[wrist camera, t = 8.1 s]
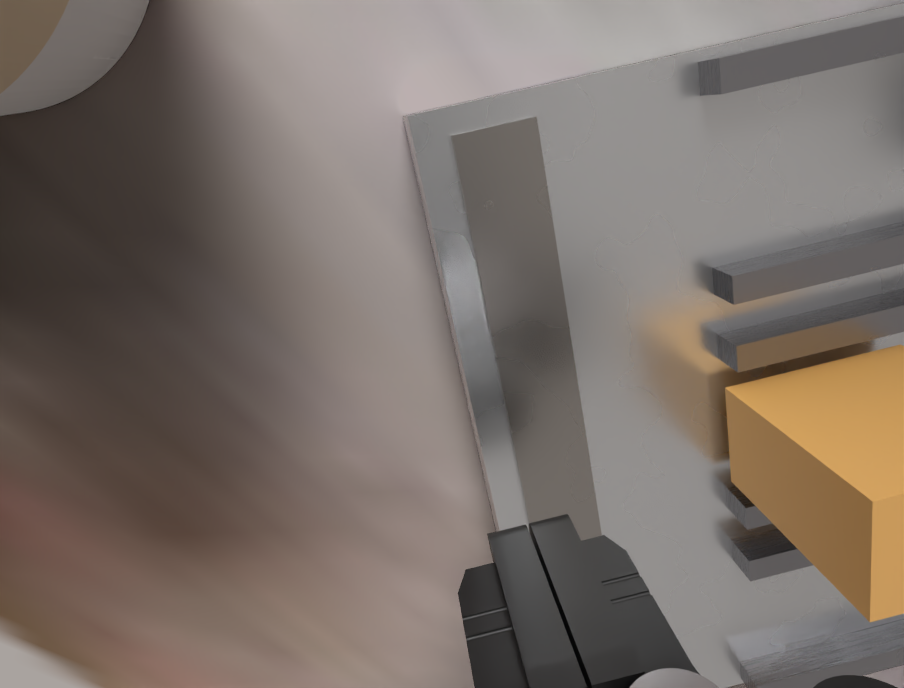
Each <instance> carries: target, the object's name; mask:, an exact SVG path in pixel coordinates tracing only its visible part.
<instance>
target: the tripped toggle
mask: <svg viewBox="0 0 904 688" xmlns="http://www.w3.org/2000/svg"><path fill="white" fill-rule="evenodd" d="M725 397H726V411H727V426H728V441H729V456H730V470H731V482H732V483H733V484H734V485H735V486H736V487H737V488H738V489H739V490H740V491H741V492H742V493H743V494H744V495H745V496H746V497H747V498H748V499H749V500H750V501H751V502H752V503H753V504H754V505H755V506H756V507H757V508H758V509H759V510H760V511H761V512H762V513H763V514H764V515H765V516H766V517H767V518H768V519H769V520H770V521H771V522H772V523H773V524H774V525H775V526H776V527H777V528H778V529H779V530H780V531H781V532H782V534H783V535H784V536H785V537H786V538H787V539H788V540H789V541H790V542H791V543H792V544H793V545H794V546H795V547H796V548H797V549H798V550H799V551H800V552H801V553H802V554H803V555H804V556H805V557H806V558H807V559H808V560H809V561H810V562H811V563H812V564H813V565H814V566H815V567H816V568H817V569H818V570H819V571H820V572H821V573H822V574H823V575H824V576H825V577H826V578H827V579H828V580H829V581H830V582H831V583H832V584H833V585H834V586H835V587H836V588H837V589H838V591H839V592H840V593H841V594H842V595H843V596H844V597H845V598H846V599H847V600H848V601H849V602H850V603H851V604H852V605H853V606H854V607H855V608H856V609H857V610H858V611H859V612H860V613H861V614H862V615H863V616H864V617H865V618H866V619H867V620H868V621H869V622H874V621H878V620H881V619H885V618H889V617H893V616H897V615H900V614H904V346H903V345H901V344H900V345H896V346H892V347H888V348H884V349H880V350H876V351H872V352H868V353H864V354H860V355H855V356H851V357H847V358H843V359H839V360H835V361H831V362H827V363H823V364H819V365H815V366H811V367H807V368H803V369H799V370H795V371H791V372H787V373H783V374H778V375H774V376H770V377H766V378H762V379H758V380H754V381H750V382H746V383H742V384H738V385H734V386H730V387H726V388H725Z"/></svg>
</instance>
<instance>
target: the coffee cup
mask: <svg viewBox="0 0 904 688" xmlns="http://www.w3.org/2000/svg"><path fill="white" fill-rule="evenodd" d="M148 3H149V0H0V116H3V115H10V114H16V113H23V112H29V111H34V110H39V109H43V108H46V107H50V106H53V105H55V104H58V103H61V102H63V101H65V100H67V99H70V98H72V97H74V96H76V95H77V94H79V93H81V92H82V91H84V90H86V89H87V88H89V87H90V86H91V85H93V84H94V83H95V82H97V81H98V80H99V79H100V78H101V77H103V76H104V75H105V74H106V73H107V72H108V71H109V70H110V69H111V68H112V67H113V66H114V65H115V63H116V62H117V61H118V60H119V59H120V58H121V56H122V55H123V54H124V52H125V51H126V50H127V48H128V46H129V45H130V43H131V42H132V40H133V38H134V37H135V35H136V33H137V31H138V29H139V27H140V25H141V22H142V20H143V17H144V15H145V12H146V10H147V6H148Z"/></svg>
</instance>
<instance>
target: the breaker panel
mask: <svg viewBox="0 0 904 688" xmlns="http://www.w3.org/2000/svg"><path fill="white" fill-rule="evenodd" d="M403 120H404V124H405V128H406V133H407V137H408V142H409V146H410V151H411V155H412V160H413V164H414V168H415V173H416V177H417V182H418V186H419V191H420V195H421V200H422V204H423V208H424V213H425V217H426V222H427V226H428V231H429V235H430V240H431V244H432V248H433V253H434V257H435V262H436V266H437V271H438V275H439V280H440V284H441V288H442V293H443V297H444V302H445V306H446V311H447V315H448V320H449V324H450V328H451V333H452V337H453V342H454V346H455V351H456V355H457V360H458V364H459V368H460V373H461V377H462V382H463V386H464V391H465V395H466V400H467V404H468V408H469V413H470V417H471V422H472V426H473V431H474V435H475V440H476V444H477V448H478V453H479V457H480V462H481V466H482V471H483V475H484V480H485V484H486V488H487V493H488V497H489V502H490V506H491V511H492V515H493V520H494V524H495V528H496V532H497V531H501V530H505V529H509V528H513V527H517V526H521V525H525V524H526V526H527V528H528V530H529V523H532V522H536V521H540V520H544V519H549V518H553V517H557V516H561V515H565V514H568V515H569V517H570V519H571V521H572V523H573V525H574V527H575V529H576V531H577V533H578V535H579V537H580V539H581V541H582V540H586V539H590V538H594V537H598V536H602V535H605V536H606V537H608V538H609V539H610V540H612V541H613V542H615V543H616V544H618V545H619V546H620V547H622V548H623V549H625V550H626V551H627V553H628V555H629V556H630V558H631V560H632V562H633V563H634V565H635V567H636V568H637V570H638V572H639V575H640V577H642V579H643V580H644V582H645V584H646V586H647V587H648V589H649V592H650V594H651V595H652V596H653V598H654V599H655V601H656V603H657V605H658V606H659V608H660V610H661V611H662V613H663V615H664V617H665V618H666V620H667V622H668V623H669V625H670V627H671V629H672V630H673V632H674V634H675V635H676V637H677V639H678V641H679V642H680V644H681V646H682V647H683V649H684V651H685V653H686V654H687V656H688V658H689V660H690V661H691V663H692V664H693V666H694V667H695V669H696V670H697V671H698V673H699V674H700V675H701V676H704V677H706V678H707V679H709V680H710V681H712V682H713V683H714V684H715V685H717V686H718V687H719V688H727V687H731V686H735V685H738V684H742V683H745V685H746V687H747V688H813V687H814V686H816V685H817V684H818V683H819V682H821V681H823V680H825V679H828V678H831V677H834V676H841V675H857V676H863V675H867V674H870V673H874V672H878V671H882V670H885V669H889V668H893V667H897V666H901V665H904V614H900V615H897V616H893V617H889V618H885V619H881V620H878V621H874V622H869V621H868V620H867V619H866V618H865V617H864V616H863V615H862V614H861V613H860V612H859V611H858V610H857V609H856V608H855V607H854V606H853V605H852V604H851V603H850V602H849V601H848V600H847V599H846V598H845V597H844V596H843V595H842V594H841V593H840V592H839V591H838V589H837V588H836V587H835V586H834V585H833V584H832V583H831V582H830V581H829V580H828V579H827V578H826V577H825V576H824V575H823V574H822V573H821V572H820V571H819V570H818V569H817V568H816V567H815V566H814V565H813V564H812V563H811V562H810V561H809V560H808V559H807V558H806V557H805V556H804V555H803V554H802V553H801V552H800V551H799V550H798V549H797V548H796V547H795V546H794V545H793V544H792V543H791V542H790V541H789V540H788V539H787V538H786V537H785V536H784V535H783V534H782V532H781V531H780V530H779V529H778V528H777V527H776V526H775V525H774V524H773V523H772V522H771V521H770V520H769V519H768V518H767V517H766V516H765V515H764V514H763V513H762V512H761V511H760V510H759V509H758V508H757V507H756V506H755V505H754V504H753V503H752V502H751V501H750V500H749V499H748V498H747V497H746V496H745V495H744V494H743V493H742V492H741V491H740V490H739V489H738V488H737V487H736V486H735V485H734V484H733V483H732V482H731V470H730V456H729V441H728V426H727V411H726V397H725V388H726V387H730V386H734V385H738V384H742V383H746V382H750V381H754V380H758V379H762V378H766V377H770V376H774V375H778V374H783V373H787V372H791V371H795V370H799V369H803V368H807V367H811V366H815V365H819V364H823V363H827V362H831V361H835V360H839V359H843V358H847V357H851V356H855V355H860V354H864V353H868V352H872V351H876V350H880V349H884V348H888V347H892V346H896V345H900V344H901V345H903V346H904V3H900V4H896V5H891V6H887V7H882V8H878V9H873V10H869V11H865V12H860V13H856V14H851V15H847V16H843V17H838V18H834V19H829V20H825V21H821V22H816V23H812V24H807V25H803V26H798V27H794V28H790V29H785V30H781V31H776V32H772V33H768V34H763V35H759V36H754V37H750V38H745V39H741V40H737V41H732V42H728V43H723V44H719V45H715V46H710V47H706V48H701V49H697V50H693V51H688V52H684V53H679V54H675V55H670V56H666V57H662V58H657V59H653V60H648V61H644V62H640V63H635V64H631V65H626V66H622V67H617V68H613V69H609V70H604V71H600V72H595V73H591V74H587V75H582V76H578V77H573V78H569V79H564V80H560V81H556V82H551V83H547V84H542V85H538V86H534V87H529V88H525V89H520V90H516V91H512V92H507V93H503V94H498V95H494V96H489V97H485V98H481V99H476V100H472V101H467V102H463V103H459V104H454V105H450V106H445V107H441V108H436V109H432V110H428V111H423V112H419V113H414V114H410V115H406V116H403ZM529 533H530V532H529Z"/></svg>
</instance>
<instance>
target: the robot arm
mask: <svg viewBox="0 0 904 688" xmlns="http://www.w3.org/2000/svg"><path fill="white" fill-rule="evenodd" d="M529 532H530V533H529ZM487 535H488V540H489V544H490V549H491V553H492V557H493V562H494V563H491V564H487V565H483V566H479V567H475V568H471V569H467V570H466V571H465V574H464V577H463V580H462V583H461V586H460V589H459V592H458V596H459V601H460V607H461V613H462V618H463V624H464V630H465V635H466V640H467V646H468V652H469V658H470V663H471V669H472V675H473V680H474V686H475V688H719V687H718V686H717V685H715V684H714V683H713V682H712V681H710V680H709V679H707V678H706V677H704V676H701V675H700V674H699V673H698V671H697V670H696V669H695V667H694V666H693V664H692V663H691V661H690V660H689V658H688V656H687V654H686V653H685V651H684V649H683V647H682V646H681V644H680V642H679V641H678V639H677V637H676V635H675V634H674V632H673V630H672V629H671V627H670V625H669V623H668V622H667V620H666V618H665V617H664V615H663V613H662V611H661V610H660V608H659V606H658V605H657V603H656V601H655V599H654V598H653V596H652V595H651V594H650V592H649V589H648V587H647V586H646V584H645V582H644V580H643V579H642V577H640V575H639V572H638V570H637V568H636V567H635V565H634V563H633V562H632V560H631V558H630V556H629V555H628V553H627V551H626V550H625V549H623V548H622V547H620V546H619V545H618V544H616V543H615V542H613V541H612V540H610V539H609V538H608V537H606V536H605V535H602V536H598V537H594V538H590V539H586V540H582V541H581V539H580V537H579V535H578V533H577V531H576V529H575V527H574V525H573V523H572V521H571V519H570V517H569V515H568V514H565V515H561V516H557V517H553V518H549V519H544V520H540V521H536V522H532V523H529V530H528V528H527V526H526V524H525V525H521V526H517V527H513V528H509V529H505V530H501V531H497V532H493V533H489V534H487ZM813 688H897V687H895V686H892V685H890V684H888V683H885V682H882V681H879V680H877V679H873V678H869V677H865V676H857V675H841V676H834V677H831V678H828V679H825V680H823V681H821V682H819V683H818V684H817V685H816V686H814V687H813Z"/></svg>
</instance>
